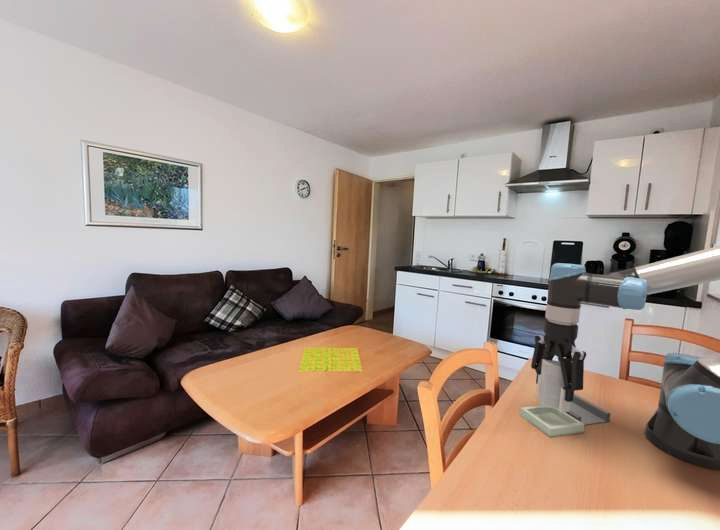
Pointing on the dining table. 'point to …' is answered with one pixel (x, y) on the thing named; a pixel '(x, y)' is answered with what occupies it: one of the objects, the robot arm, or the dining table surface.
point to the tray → (552, 421)
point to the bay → (587, 411)
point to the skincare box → (550, 384)
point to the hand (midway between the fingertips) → (551, 403)
